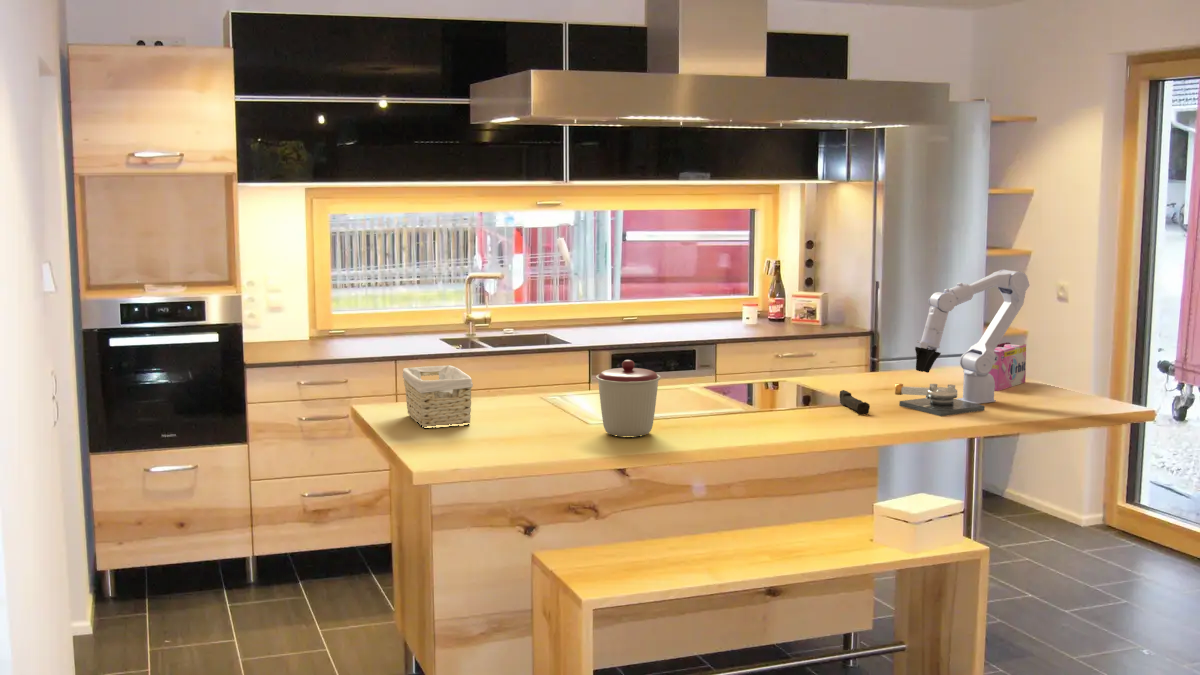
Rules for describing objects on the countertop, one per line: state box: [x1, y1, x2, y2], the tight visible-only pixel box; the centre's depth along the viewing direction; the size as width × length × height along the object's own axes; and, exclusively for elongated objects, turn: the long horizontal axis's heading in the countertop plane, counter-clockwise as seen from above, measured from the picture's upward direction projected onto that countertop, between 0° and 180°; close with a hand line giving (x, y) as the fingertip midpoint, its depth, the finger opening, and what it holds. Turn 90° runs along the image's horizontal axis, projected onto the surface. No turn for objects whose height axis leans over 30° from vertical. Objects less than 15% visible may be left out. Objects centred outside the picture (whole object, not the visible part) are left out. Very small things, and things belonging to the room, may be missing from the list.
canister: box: [595, 359, 662, 437], centre depth 327 cm, size 18×18×21 cm
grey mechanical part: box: [894, 383, 958, 399], centre depth 365 cm, size 19×9×4 cm, turn 73°
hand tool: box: [838, 389, 871, 415], centre depth 364 cm, size 19×4×5 cm, turn 7°
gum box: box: [989, 341, 1027, 392], centre depth 403 cm, size 24×8×14 cm, turn 137°
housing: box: [898, 397, 986, 417], centre depth 364 cm, size 18×18×4 cm
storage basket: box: [402, 364, 474, 428], centre depth 345 cm, size 24×16×15 cm
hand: (922, 371), depth 369 cm, fingers open, 7 cm apart
